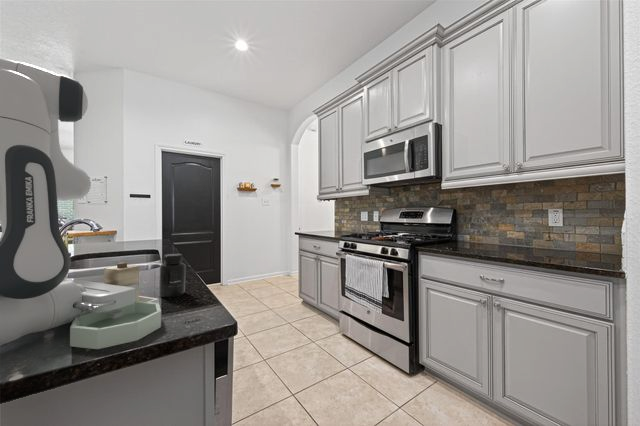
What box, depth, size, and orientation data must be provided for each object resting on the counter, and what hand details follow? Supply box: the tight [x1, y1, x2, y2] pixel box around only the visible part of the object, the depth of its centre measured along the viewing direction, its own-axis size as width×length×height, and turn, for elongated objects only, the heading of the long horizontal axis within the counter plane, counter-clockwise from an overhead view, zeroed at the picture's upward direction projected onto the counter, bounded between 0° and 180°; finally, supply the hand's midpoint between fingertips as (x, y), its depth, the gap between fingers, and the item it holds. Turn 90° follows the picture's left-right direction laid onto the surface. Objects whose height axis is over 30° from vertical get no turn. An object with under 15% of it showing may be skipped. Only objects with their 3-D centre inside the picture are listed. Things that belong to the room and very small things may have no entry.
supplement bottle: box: [158, 253, 186, 299], centre depth 79 cm, size 7×7×12 cm
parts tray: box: [80, 295, 160, 319], centre depth 66 cm, size 11×11×2 cm
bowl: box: [69, 301, 162, 350], centre depth 55 cm, size 14×14×4 cm
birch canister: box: [103, 261, 140, 302], centre depth 66 cm, size 5×5×12 cm
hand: (127, 285), depth 67 cm, fingers closed on birch canister, 5 cm apart
